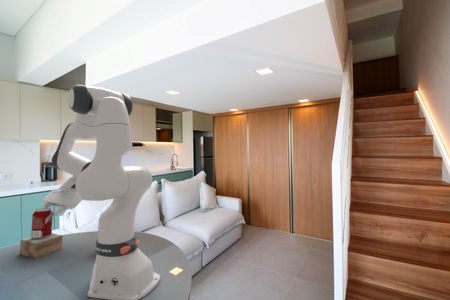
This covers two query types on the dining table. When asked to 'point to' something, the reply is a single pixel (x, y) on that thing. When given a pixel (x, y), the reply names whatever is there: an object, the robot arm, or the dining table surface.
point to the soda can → (41, 223)
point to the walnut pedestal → (40, 245)
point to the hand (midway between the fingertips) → (47, 214)
